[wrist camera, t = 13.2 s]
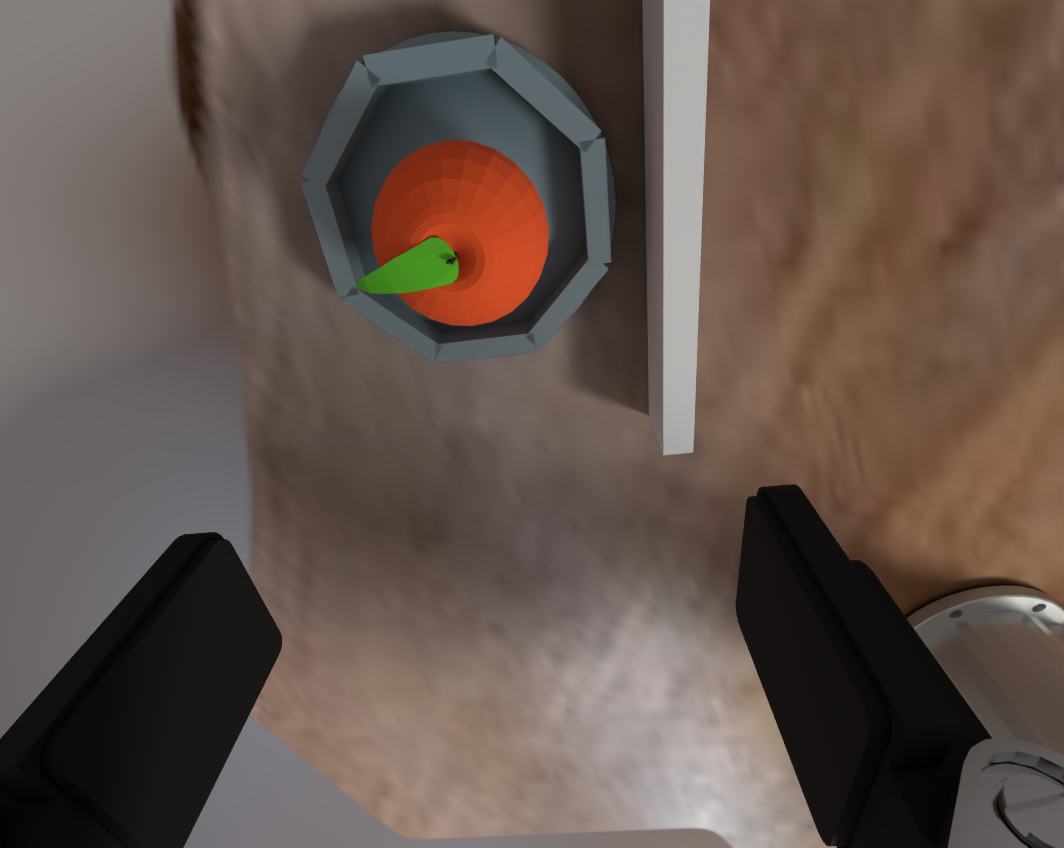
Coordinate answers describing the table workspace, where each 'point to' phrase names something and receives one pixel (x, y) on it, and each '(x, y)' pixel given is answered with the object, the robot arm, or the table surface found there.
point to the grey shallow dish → (468, 115)
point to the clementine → (458, 234)
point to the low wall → (674, 208)
